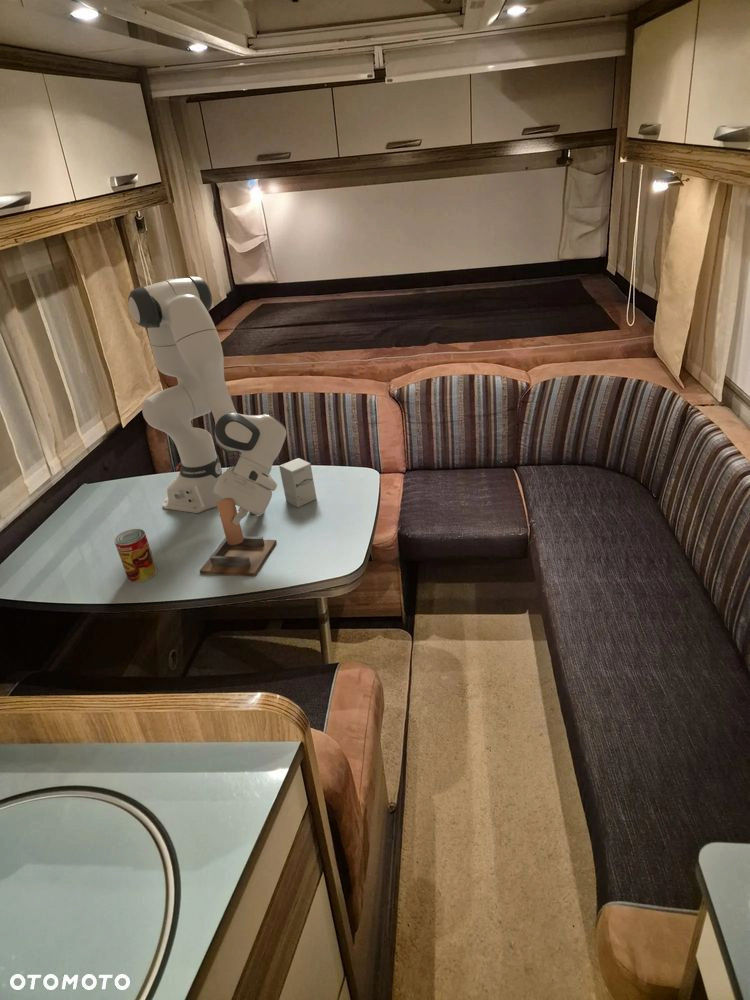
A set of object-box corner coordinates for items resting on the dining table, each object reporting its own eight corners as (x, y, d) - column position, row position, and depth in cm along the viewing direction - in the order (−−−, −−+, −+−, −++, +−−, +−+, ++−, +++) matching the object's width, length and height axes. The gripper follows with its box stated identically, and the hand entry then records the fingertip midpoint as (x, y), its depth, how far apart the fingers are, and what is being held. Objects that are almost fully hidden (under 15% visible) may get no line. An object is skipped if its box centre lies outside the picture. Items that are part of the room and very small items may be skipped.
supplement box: (298, 508, 197) (290, 471, 191) (285, 500, 203) (278, 465, 197) (317, 499, 201) (311, 463, 195) (304, 492, 207) (298, 456, 201)
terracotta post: (224, 544, 172) (213, 505, 166) (231, 536, 175) (221, 497, 170) (239, 545, 170) (229, 506, 165) (246, 536, 174) (236, 497, 169)
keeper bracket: (200, 573, 171) (197, 563, 169) (225, 541, 185) (222, 531, 183) (255, 576, 167) (252, 565, 165) (276, 542, 181) (274, 532, 179)
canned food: (122, 576, 175) (108, 538, 169) (148, 562, 179) (135, 525, 174) (136, 585, 170) (123, 547, 164) (162, 571, 174) (150, 534, 169)
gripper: (221, 460, 175) (199, 506, 174) (263, 478, 161) (240, 528, 160) (238, 469, 180) (216, 513, 179) (281, 487, 166) (258, 535, 165)
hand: (228, 520), depth 170 cm, fingers closed on terracotta post, 4 cm apart
